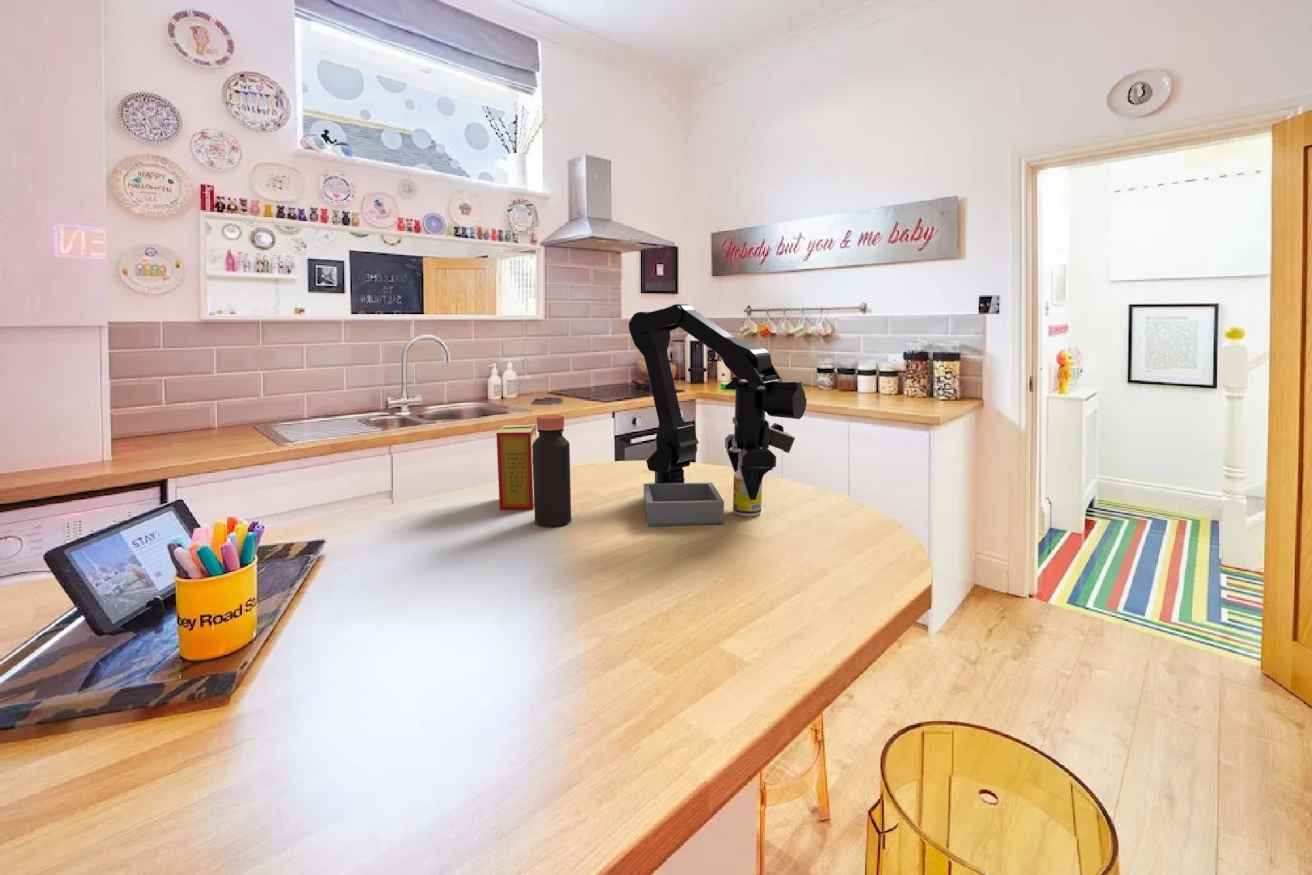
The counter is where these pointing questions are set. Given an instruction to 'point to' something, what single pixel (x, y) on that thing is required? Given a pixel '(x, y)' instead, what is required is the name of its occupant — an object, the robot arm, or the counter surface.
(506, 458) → the baking soda box
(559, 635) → the counter surface
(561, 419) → the vinegar
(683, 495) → the box
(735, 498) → the supplement bottle
